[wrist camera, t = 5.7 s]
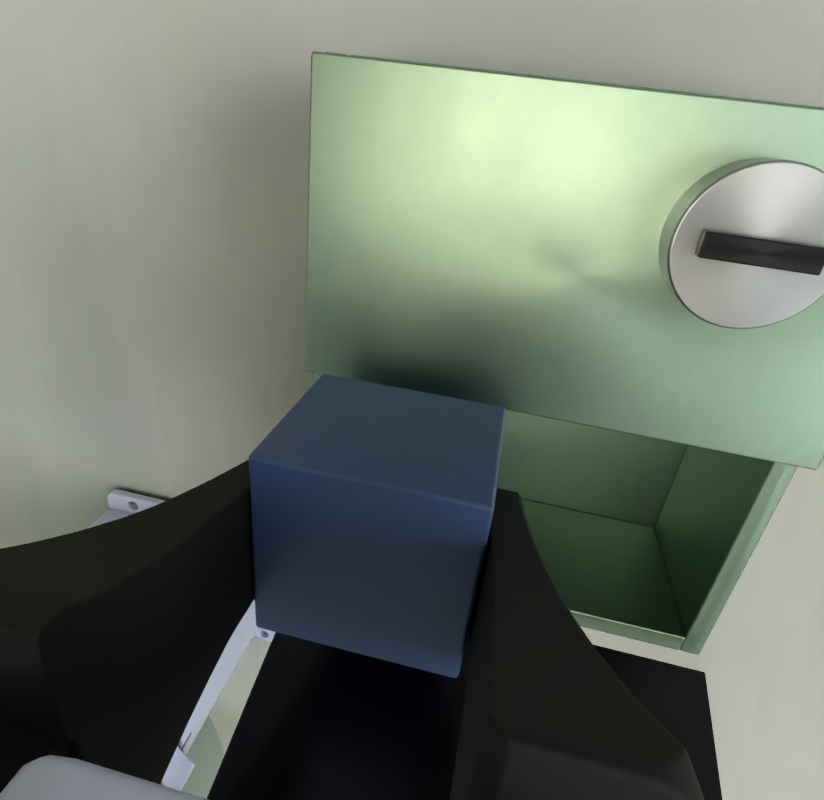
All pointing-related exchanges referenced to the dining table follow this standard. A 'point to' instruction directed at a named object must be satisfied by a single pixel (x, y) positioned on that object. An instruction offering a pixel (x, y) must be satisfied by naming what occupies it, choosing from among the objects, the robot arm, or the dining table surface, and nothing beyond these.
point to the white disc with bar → (747, 243)
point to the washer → (565, 314)
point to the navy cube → (375, 520)
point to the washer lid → (402, 725)
